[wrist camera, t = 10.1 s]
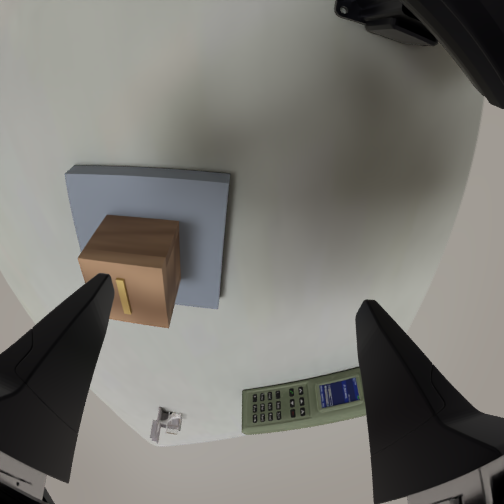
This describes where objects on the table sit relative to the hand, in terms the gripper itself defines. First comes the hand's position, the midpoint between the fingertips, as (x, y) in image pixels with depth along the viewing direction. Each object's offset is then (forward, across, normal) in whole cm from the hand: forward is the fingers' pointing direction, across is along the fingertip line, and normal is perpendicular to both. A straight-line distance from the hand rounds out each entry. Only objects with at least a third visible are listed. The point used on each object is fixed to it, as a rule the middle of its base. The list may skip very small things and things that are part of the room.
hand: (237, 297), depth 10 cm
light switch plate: (+12, +7, +7) cm, 16 cm away
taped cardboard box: (+10, +7, +7) cm, 14 cm away
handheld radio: (+12, -15, +28) cm, 34 cm away
